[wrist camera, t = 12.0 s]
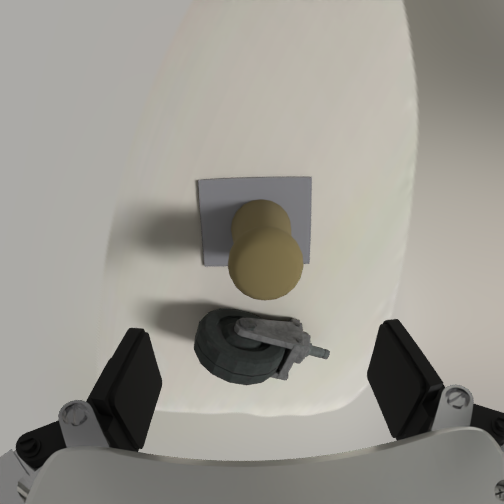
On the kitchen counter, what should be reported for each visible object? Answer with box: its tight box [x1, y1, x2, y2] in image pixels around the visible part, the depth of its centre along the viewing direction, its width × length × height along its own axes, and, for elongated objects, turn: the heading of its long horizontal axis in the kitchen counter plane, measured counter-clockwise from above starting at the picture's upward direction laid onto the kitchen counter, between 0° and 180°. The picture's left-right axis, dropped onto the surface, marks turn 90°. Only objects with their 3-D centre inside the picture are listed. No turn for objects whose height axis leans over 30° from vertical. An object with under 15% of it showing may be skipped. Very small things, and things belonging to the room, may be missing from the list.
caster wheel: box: [194, 309, 330, 385], centre depth 29 cm, size 6×10×15 cm
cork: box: [228, 199, 303, 300], centre depth 23 cm, size 6×6×11 cm
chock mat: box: [198, 177, 312, 266], centre depth 29 cm, size 9×11×1 cm
